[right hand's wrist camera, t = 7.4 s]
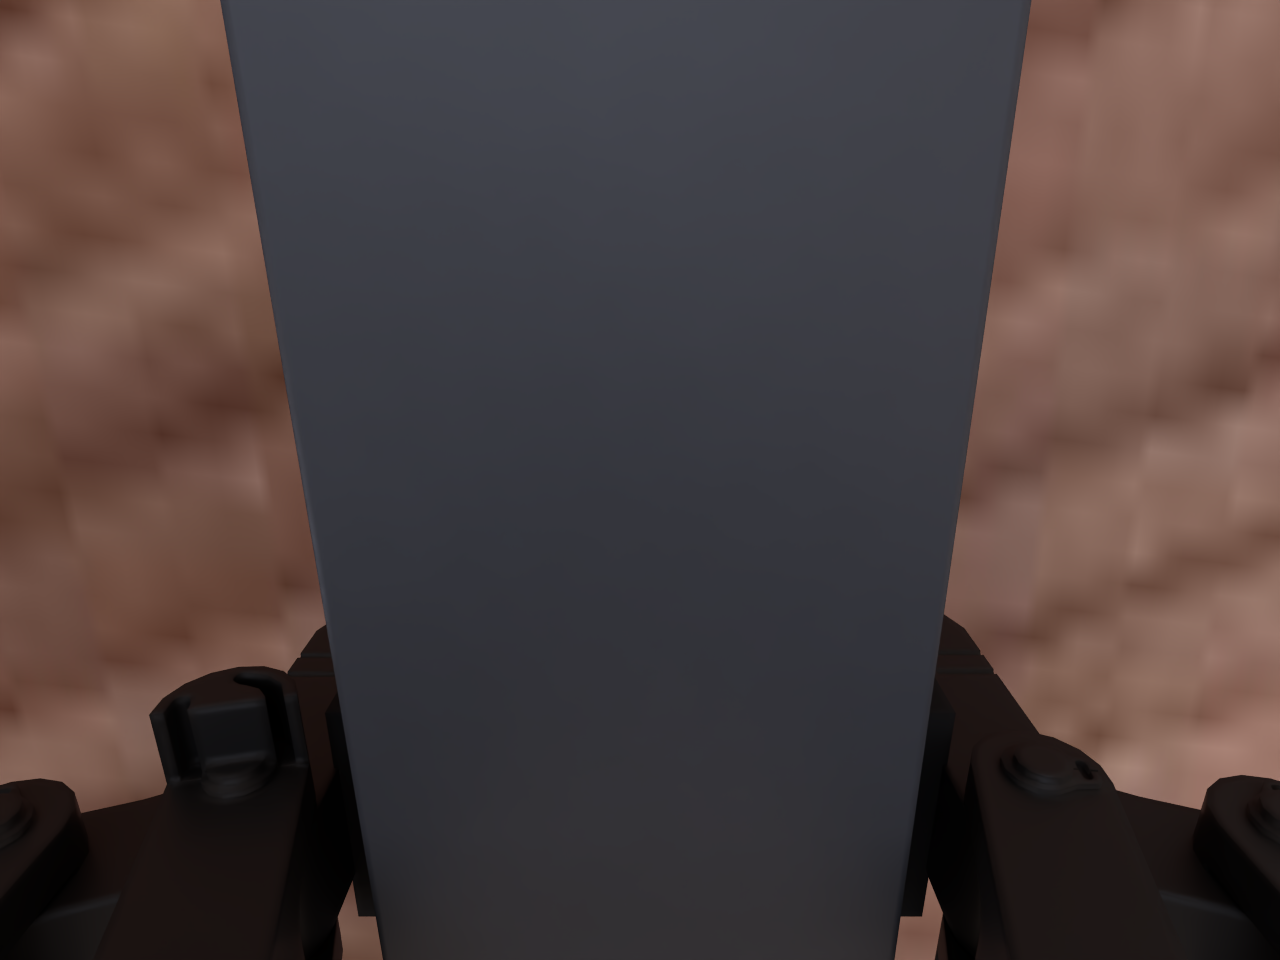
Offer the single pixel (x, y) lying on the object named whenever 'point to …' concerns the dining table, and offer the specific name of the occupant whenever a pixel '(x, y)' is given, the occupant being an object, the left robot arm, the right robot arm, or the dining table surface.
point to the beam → (631, 443)
